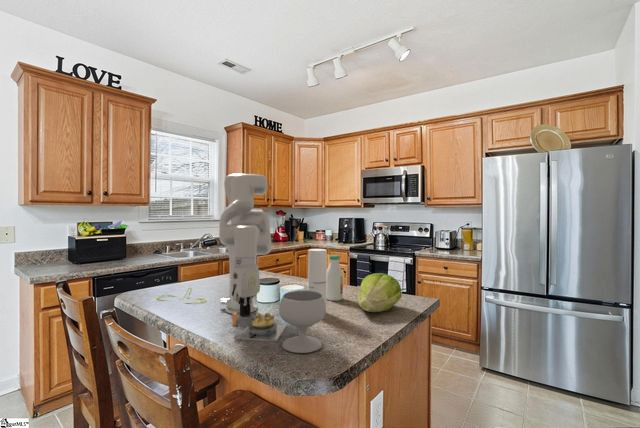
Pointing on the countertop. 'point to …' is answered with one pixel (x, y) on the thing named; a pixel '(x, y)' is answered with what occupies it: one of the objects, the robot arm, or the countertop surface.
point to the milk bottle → (334, 280)
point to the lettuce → (378, 292)
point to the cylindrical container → (317, 271)
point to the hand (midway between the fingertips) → (245, 316)
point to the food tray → (253, 320)
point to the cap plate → (262, 338)
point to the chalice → (302, 318)
